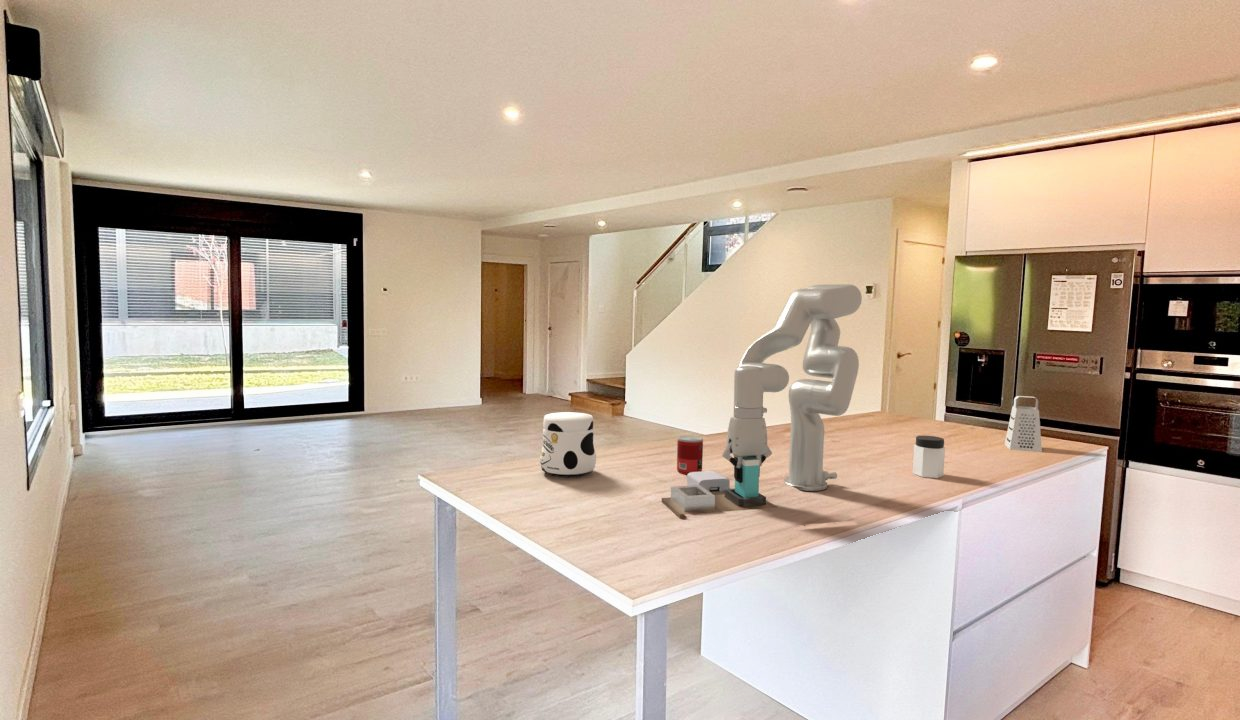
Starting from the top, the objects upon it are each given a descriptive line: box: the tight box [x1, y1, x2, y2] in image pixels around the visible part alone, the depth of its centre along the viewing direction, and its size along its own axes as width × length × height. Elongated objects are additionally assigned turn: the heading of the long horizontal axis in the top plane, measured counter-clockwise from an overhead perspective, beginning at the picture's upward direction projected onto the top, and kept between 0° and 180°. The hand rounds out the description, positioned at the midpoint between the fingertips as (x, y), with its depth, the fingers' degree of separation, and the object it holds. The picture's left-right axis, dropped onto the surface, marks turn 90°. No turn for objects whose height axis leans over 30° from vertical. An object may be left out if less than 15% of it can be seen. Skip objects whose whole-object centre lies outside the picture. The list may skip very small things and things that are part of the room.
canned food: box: [676, 435, 704, 476], centre depth 205 cm, size 8×8×11 cm
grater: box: [1004, 395, 1043, 453], centre depth 250 cm, size 10×10×20 cm
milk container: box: [539, 411, 597, 478], centre depth 201 cm, size 17×17×18 cm
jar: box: [912, 435, 946, 479], centre depth 207 cm, size 9×8×12 cm
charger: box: [686, 470, 730, 492], centre depth 188 cm, size 5×9×15 cm
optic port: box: [670, 485, 716, 512], centre depth 169 cm, size 8×10×4 cm
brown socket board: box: [661, 488, 778, 519], centre depth 171 cm, size 27×14×3 cm, turn 105°
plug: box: [734, 456, 760, 498], centre depth 172 cm, size 4×6×10 cm, turn 15°
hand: (746, 480), depth 173 cm, fingers closed on plug, 4 cm apart
